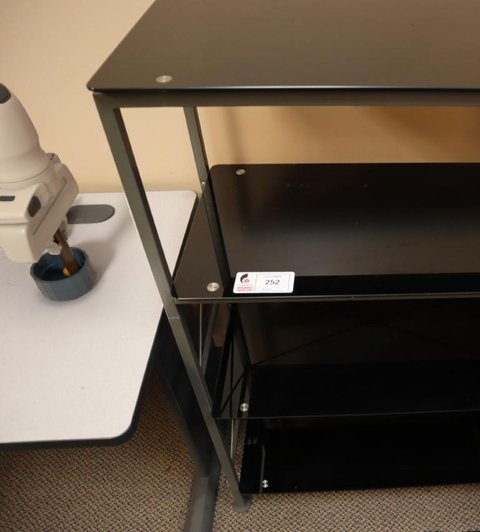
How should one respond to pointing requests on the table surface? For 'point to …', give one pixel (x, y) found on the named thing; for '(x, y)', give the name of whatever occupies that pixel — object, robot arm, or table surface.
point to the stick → (66, 253)
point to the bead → (66, 272)
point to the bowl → (63, 276)
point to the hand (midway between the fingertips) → (60, 245)
